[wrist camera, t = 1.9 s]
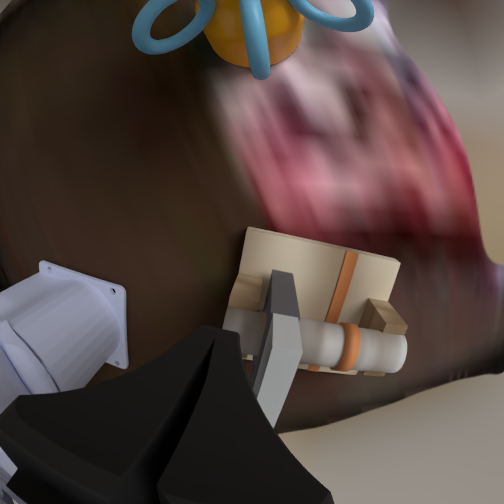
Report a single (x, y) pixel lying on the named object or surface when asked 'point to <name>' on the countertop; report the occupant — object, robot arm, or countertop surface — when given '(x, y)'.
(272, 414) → the grey bent plate
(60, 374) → the robot arm
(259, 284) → the pipe rig
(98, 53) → the countertop surface
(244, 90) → the countertop surface
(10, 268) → the countertop surface
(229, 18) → the yellow blue ringed piece
